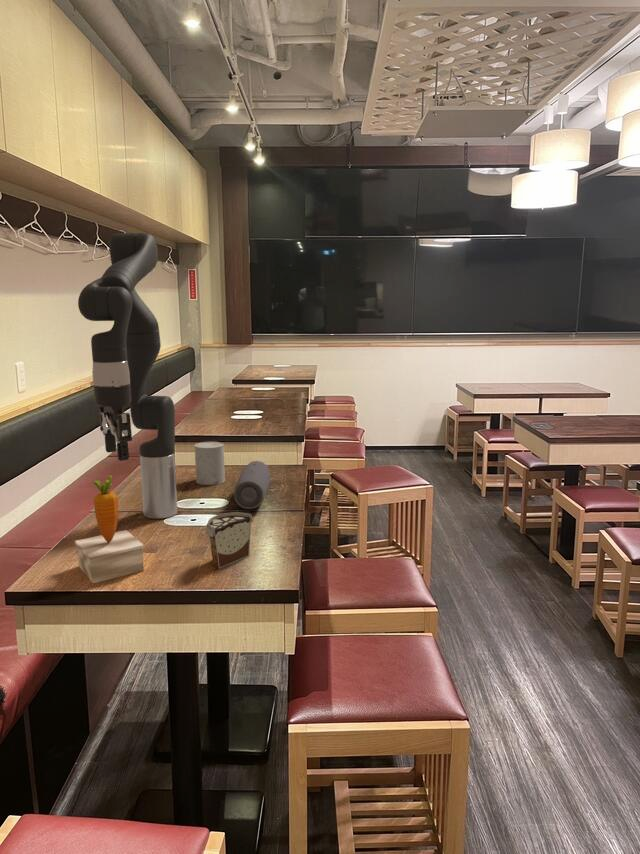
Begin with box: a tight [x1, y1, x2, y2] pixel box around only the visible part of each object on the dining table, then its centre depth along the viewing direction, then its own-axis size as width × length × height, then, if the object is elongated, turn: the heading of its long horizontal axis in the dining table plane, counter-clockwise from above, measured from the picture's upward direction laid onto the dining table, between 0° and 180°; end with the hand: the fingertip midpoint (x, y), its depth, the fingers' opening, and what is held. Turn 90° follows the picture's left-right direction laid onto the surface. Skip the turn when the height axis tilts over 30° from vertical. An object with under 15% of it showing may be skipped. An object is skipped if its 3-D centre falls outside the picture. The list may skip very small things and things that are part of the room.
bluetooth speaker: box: [233, 460, 271, 510], centre depth 187 cm, size 23×9×10 cm, turn 0°
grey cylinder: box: [194, 441, 226, 486], centre depth 208 cm, size 10×10×12 cm
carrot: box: [93, 475, 119, 543], centre depth 138 cm, size 5×5×15 cm
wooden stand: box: [74, 529, 145, 584], centre depth 140 cm, size 12×12×6 cm
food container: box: [205, 511, 254, 570], centre depth 145 cm, size 12×6×10 cm, turn 141°
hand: (117, 455), depth 138 cm, fingers open, 8 cm apart
